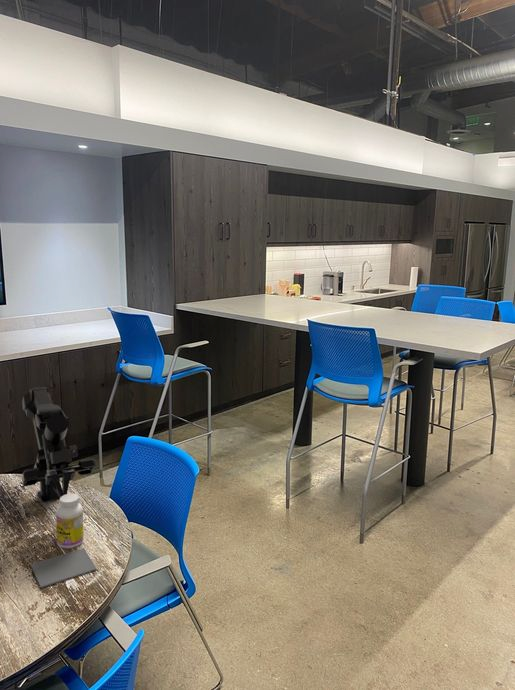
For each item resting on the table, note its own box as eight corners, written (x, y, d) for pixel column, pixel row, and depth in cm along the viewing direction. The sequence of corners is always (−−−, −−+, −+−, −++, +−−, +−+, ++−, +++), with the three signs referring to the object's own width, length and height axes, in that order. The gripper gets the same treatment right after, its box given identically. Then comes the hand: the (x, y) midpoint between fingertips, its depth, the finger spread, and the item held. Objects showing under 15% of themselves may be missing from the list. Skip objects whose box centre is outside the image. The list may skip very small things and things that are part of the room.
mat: (30, 565, 129) (30, 563, 129) (83, 549, 137) (83, 547, 137) (40, 588, 121) (40, 586, 121) (96, 570, 129) (96, 568, 129)
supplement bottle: (51, 544, 138) (49, 499, 135) (70, 532, 144) (69, 489, 141) (69, 552, 135) (68, 506, 132) (89, 540, 141) (88, 495, 138)
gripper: (21, 442, 139) (29, 498, 132) (93, 431, 149) (104, 483, 142) (18, 458, 147) (26, 513, 140) (87, 447, 157) (97, 497, 150)
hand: (64, 501), depth 143 cm, fingers closed
